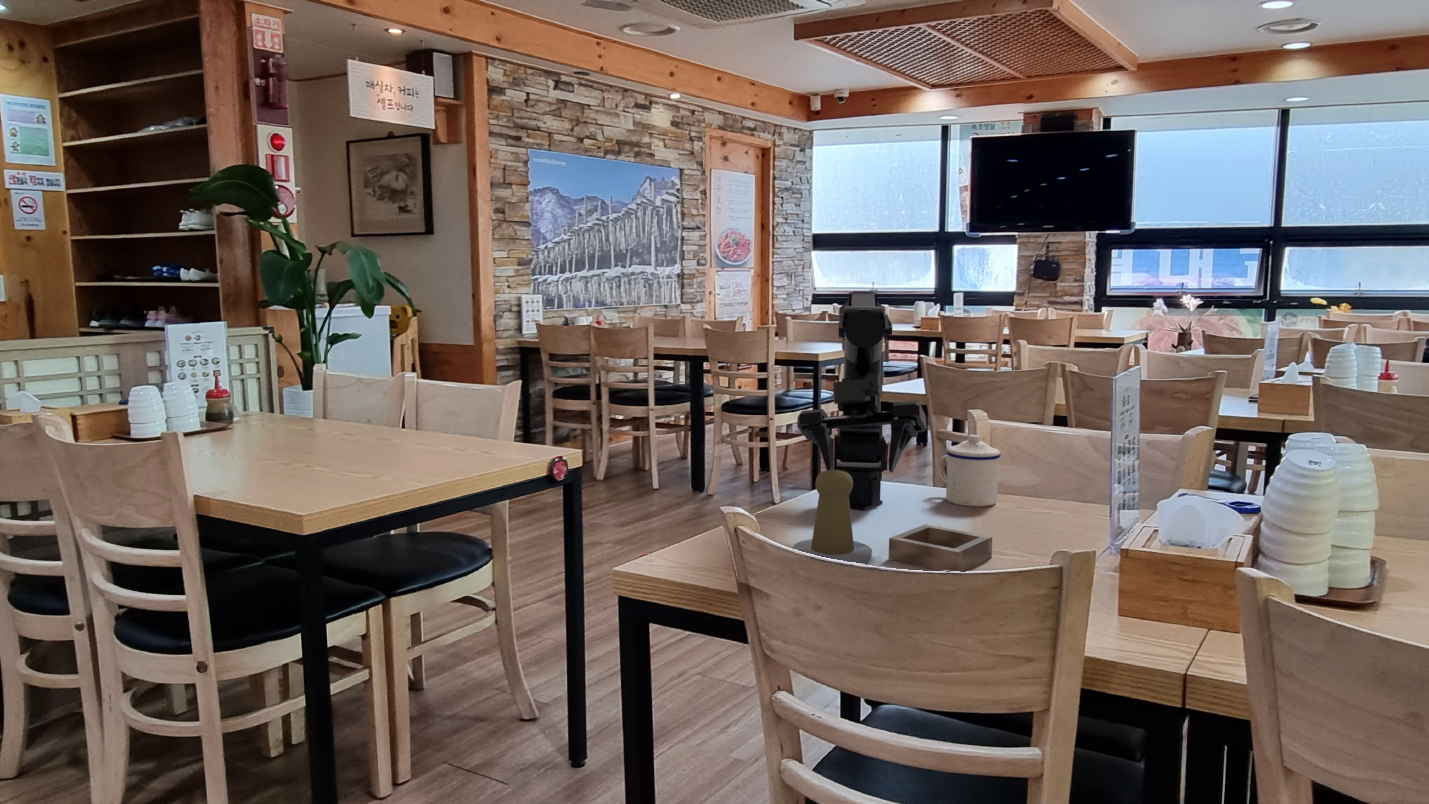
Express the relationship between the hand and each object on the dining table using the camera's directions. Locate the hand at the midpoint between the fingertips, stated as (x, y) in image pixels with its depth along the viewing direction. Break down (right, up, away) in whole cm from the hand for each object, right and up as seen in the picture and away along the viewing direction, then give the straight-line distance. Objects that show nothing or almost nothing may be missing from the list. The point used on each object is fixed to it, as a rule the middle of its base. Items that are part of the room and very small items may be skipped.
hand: (860, 473), depth 149 cm
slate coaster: (-5, -11, -8) cm, 14 cm away
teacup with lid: (+22, -7, +28) cm, 36 cm away
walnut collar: (+10, -11, -9) cm, 17 cm away
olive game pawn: (-5, -10, -8) cm, 14 cm away
